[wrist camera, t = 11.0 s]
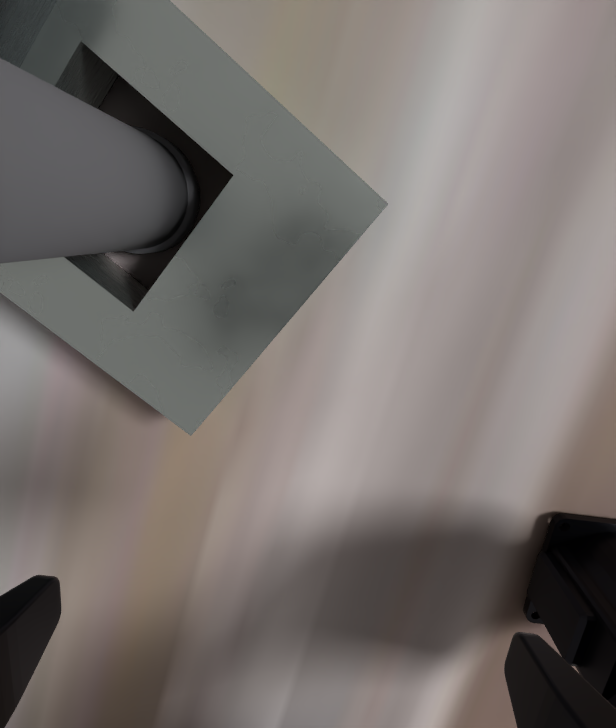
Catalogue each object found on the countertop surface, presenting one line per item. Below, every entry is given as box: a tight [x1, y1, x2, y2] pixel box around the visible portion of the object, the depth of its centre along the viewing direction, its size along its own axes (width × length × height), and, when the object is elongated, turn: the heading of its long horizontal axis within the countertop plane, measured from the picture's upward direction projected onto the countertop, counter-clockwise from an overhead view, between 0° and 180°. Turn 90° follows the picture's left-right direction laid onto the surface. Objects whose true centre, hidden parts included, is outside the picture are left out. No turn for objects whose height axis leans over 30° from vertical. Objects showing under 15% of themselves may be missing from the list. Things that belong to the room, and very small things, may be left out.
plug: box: [0, 58, 200, 264], centre depth 13 cm, size 5×5×13 cm
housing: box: [0, 0, 388, 436], centre depth 16 cm, size 16×12×6 cm
